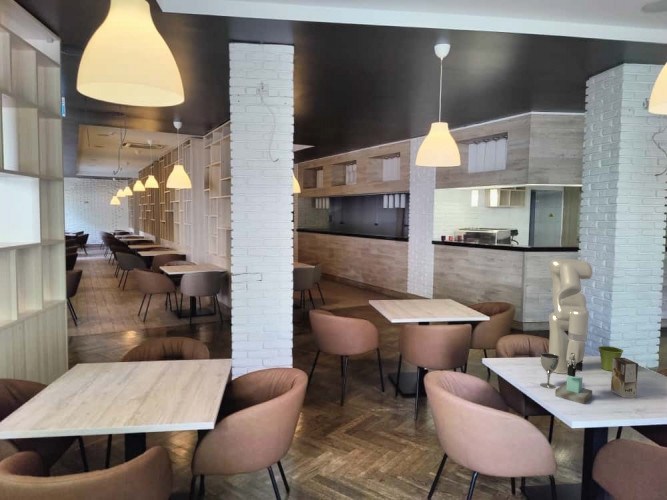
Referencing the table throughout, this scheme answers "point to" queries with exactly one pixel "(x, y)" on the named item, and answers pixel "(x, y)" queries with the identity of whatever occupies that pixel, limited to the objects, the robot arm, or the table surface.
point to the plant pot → (609, 356)
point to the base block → (573, 394)
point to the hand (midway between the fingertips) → (574, 373)
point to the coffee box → (624, 377)
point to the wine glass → (549, 367)
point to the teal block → (574, 383)
